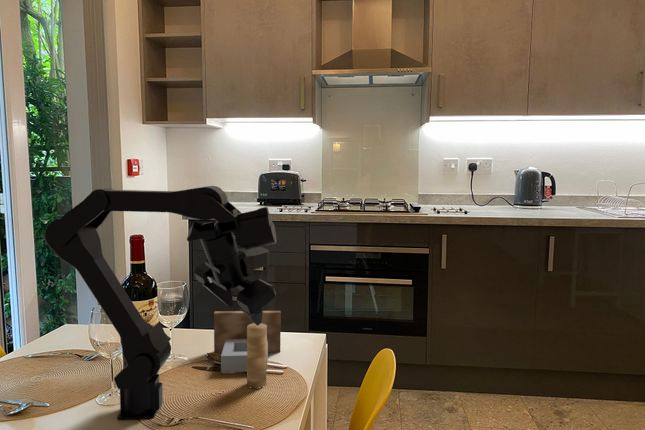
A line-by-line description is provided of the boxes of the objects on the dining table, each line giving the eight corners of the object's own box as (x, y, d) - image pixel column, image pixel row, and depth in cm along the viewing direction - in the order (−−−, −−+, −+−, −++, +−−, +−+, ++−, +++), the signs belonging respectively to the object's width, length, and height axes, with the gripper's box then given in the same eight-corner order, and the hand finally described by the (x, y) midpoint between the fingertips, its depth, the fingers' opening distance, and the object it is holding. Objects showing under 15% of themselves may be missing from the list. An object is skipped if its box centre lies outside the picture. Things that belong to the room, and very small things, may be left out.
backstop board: (214, 353, 113) (214, 313, 112) (215, 350, 114) (214, 311, 113) (280, 352, 114) (280, 312, 113) (280, 349, 116) (280, 310, 115)
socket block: (221, 373, 102) (221, 355, 101) (226, 355, 112) (226, 339, 111) (266, 372, 103) (267, 355, 102) (267, 354, 113) (268, 338, 112)
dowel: (246, 389, 95) (246, 329, 94) (247, 380, 99) (247, 323, 98) (266, 388, 95) (266, 329, 94) (266, 379, 99) (266, 322, 98)
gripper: (287, 244, 83) (305, 308, 91) (227, 217, 95) (247, 276, 103) (239, 279, 77) (262, 344, 85) (181, 246, 89) (206, 306, 97)
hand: (244, 314), depth 93 cm, fingers open, 9 cm apart
